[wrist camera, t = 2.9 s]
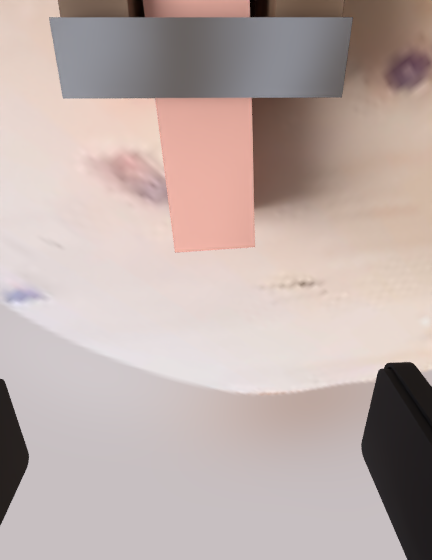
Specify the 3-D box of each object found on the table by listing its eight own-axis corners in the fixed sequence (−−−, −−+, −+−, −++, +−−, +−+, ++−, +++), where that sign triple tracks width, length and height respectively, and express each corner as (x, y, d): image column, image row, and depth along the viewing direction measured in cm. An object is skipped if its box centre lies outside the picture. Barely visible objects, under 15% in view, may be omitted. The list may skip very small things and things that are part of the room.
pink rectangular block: (235, -81, 18) (246, -146, 13) (244, 209, 25) (254, 246, 19) (149, -74, 18) (125, -136, 13) (182, 214, 25) (175, 252, 19)
